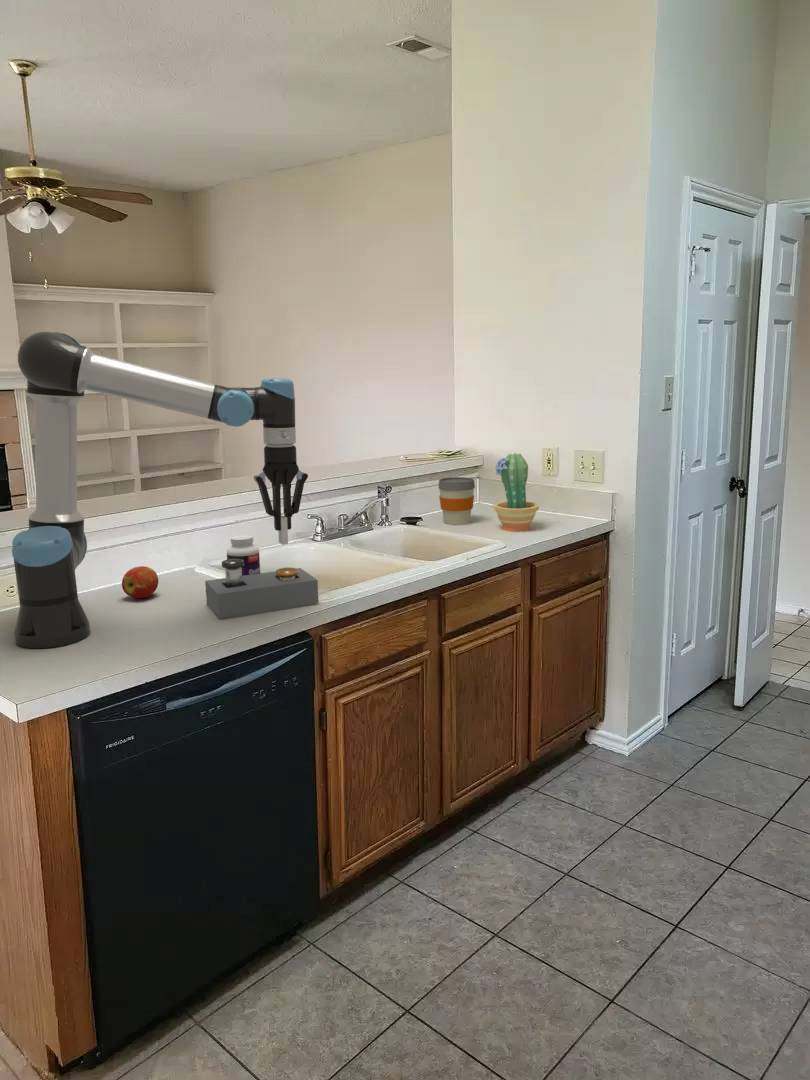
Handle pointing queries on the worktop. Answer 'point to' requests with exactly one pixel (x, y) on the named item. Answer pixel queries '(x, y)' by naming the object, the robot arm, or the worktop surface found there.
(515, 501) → the potted cactus
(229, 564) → the knob left
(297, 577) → the grey vial holder
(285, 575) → the orange capped vial
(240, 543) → the pill bottle
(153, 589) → the apple
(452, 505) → the reusable coffee cup
